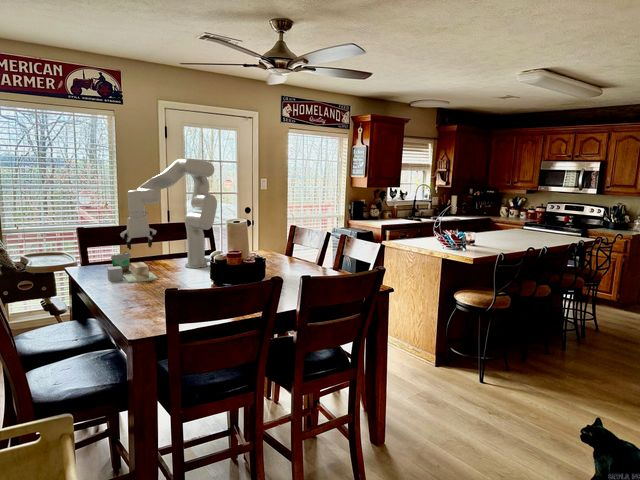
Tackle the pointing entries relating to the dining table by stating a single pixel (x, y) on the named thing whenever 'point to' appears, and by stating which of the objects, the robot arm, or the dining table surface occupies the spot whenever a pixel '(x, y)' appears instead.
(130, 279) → the baseplate
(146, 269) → the beech block
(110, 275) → the grey cube
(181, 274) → the dining table surface
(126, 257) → the food container
